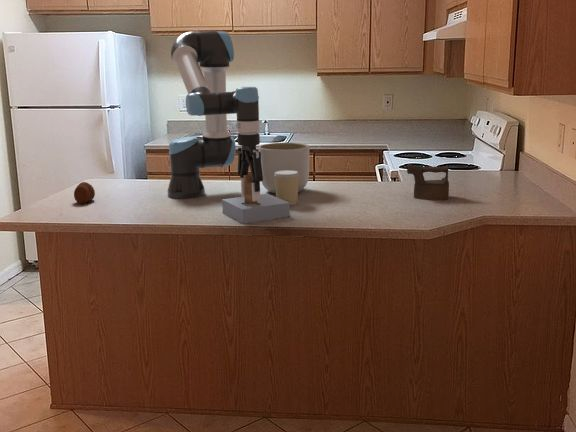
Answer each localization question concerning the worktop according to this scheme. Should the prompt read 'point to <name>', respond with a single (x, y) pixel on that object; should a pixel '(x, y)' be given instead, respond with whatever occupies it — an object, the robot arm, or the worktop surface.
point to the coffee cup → (287, 185)
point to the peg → (248, 191)
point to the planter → (284, 162)
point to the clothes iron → (429, 183)
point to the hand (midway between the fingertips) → (250, 198)
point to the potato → (84, 193)
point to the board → (256, 209)
